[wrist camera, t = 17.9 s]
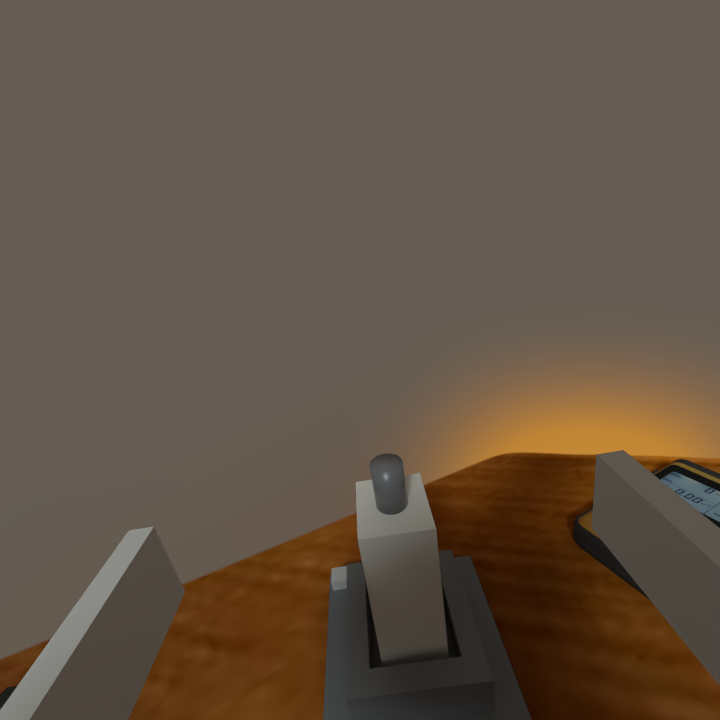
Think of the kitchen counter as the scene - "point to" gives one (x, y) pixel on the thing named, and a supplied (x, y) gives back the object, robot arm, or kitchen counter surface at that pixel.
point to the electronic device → (690, 481)
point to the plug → (401, 564)
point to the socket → (421, 679)
